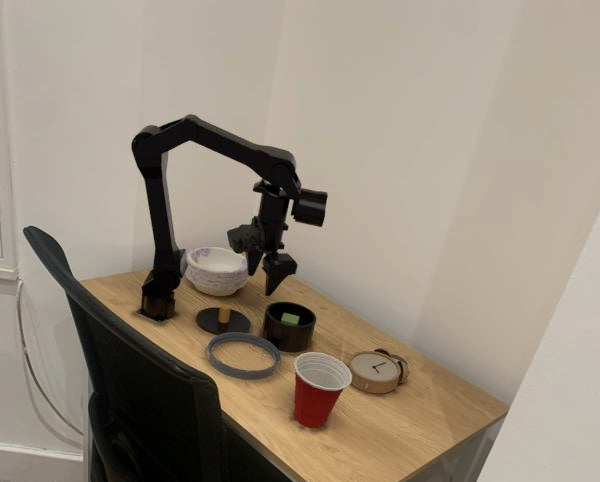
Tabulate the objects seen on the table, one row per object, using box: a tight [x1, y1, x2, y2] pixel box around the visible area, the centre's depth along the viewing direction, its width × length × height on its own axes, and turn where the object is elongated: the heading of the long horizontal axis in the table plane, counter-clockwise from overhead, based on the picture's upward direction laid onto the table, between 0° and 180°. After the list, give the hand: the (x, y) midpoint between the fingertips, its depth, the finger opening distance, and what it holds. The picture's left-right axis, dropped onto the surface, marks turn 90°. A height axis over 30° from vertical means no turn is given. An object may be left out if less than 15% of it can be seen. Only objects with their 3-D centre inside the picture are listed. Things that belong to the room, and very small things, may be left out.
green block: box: [281, 313, 299, 326], centre depth 142 cm, size 4×4×6 cm
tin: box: [260, 301, 317, 354], centre depth 142 cm, size 11×11×7 cm
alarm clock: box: [347, 347, 411, 394], centre depth 138 cm, size 11×5×15 cm
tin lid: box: [195, 303, 252, 336], centre depth 143 cm, size 12×12×5 cm
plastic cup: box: [293, 351, 352, 429], centre depth 118 cm, size 11×11×12 cm
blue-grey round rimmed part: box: [206, 332, 282, 381], centre depth 133 cm, size 15×15×2 cm
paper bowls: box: [184, 246, 249, 297], centre depth 157 cm, size 15×15×8 cm
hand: (258, 285), depth 138 cm, fingers open, 9 cm apart
